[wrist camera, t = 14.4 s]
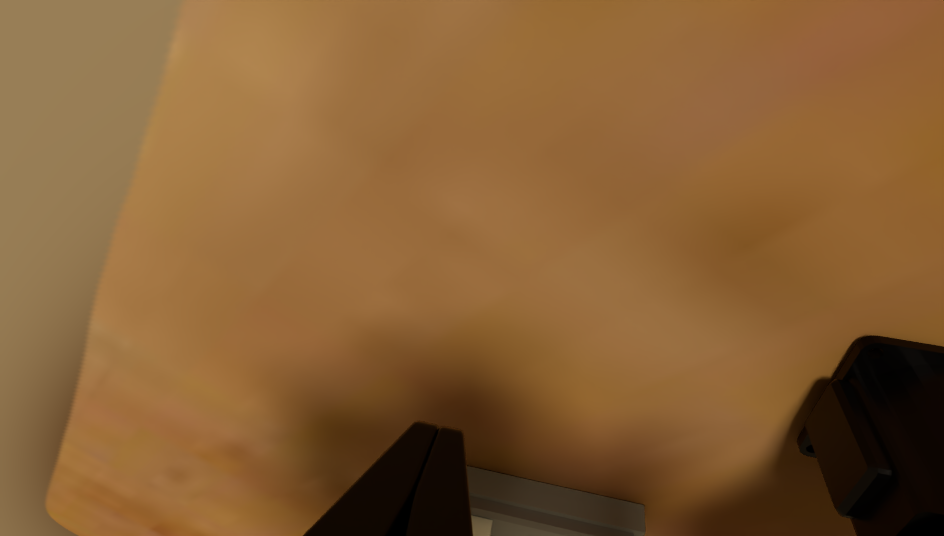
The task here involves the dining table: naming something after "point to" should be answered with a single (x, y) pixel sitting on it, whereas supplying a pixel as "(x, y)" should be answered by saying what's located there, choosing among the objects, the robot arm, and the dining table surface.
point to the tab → (481, 526)
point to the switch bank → (548, 508)
